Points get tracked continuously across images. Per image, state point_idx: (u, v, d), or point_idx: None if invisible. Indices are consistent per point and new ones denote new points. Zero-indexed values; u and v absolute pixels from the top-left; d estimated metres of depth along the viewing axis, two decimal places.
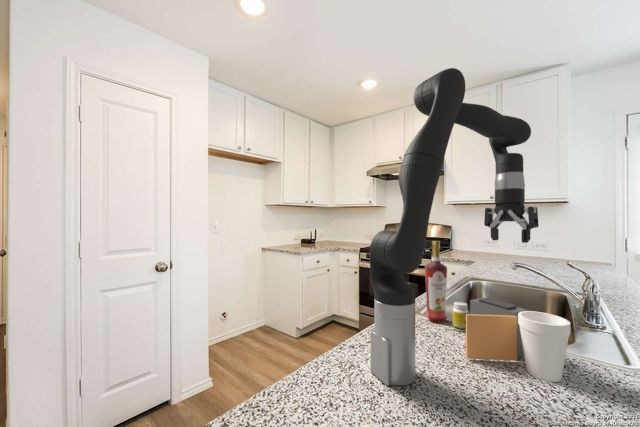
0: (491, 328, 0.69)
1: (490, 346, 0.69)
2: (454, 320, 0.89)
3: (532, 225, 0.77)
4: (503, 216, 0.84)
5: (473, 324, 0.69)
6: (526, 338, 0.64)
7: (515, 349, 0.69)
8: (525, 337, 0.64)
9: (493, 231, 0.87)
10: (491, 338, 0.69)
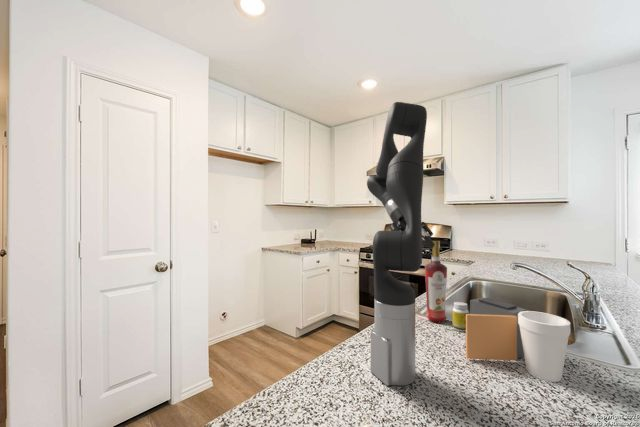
0: (491, 328, 0.69)
1: (490, 346, 0.69)
2: (454, 320, 0.89)
3: (432, 233, 0.93)
4: None
5: (473, 324, 0.69)
6: (526, 338, 0.64)
7: (515, 349, 0.69)
8: (525, 337, 0.64)
9: None
10: (491, 338, 0.69)
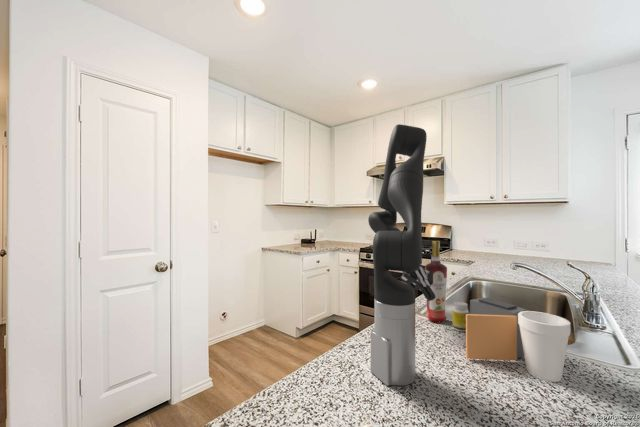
0: (491, 328, 0.69)
1: (490, 346, 0.69)
2: (454, 320, 0.89)
3: (432, 281, 0.87)
4: None
5: (473, 324, 0.69)
6: (526, 338, 0.64)
7: (515, 349, 0.69)
8: (525, 337, 0.64)
9: (428, 289, 0.84)
10: (491, 338, 0.69)
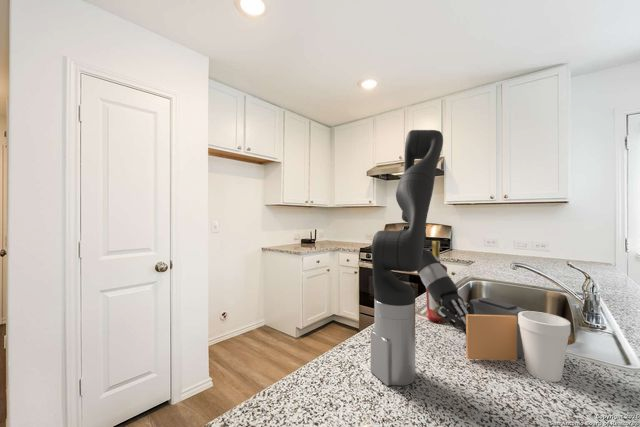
0: (491, 328, 0.69)
1: (490, 346, 0.69)
2: None
3: None
4: None
5: (474, 324, 0.69)
6: (526, 338, 0.64)
7: (515, 349, 0.69)
8: (525, 337, 0.64)
9: None
10: (491, 338, 0.69)
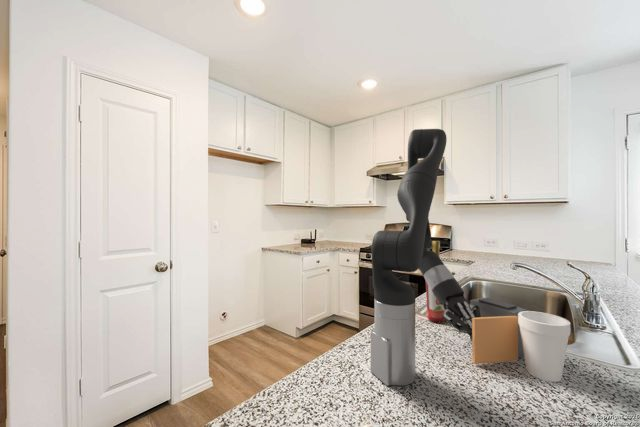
0: (496, 330, 0.68)
1: (495, 349, 0.68)
2: None
3: None
4: None
5: (480, 327, 0.67)
6: (526, 338, 0.64)
7: (516, 349, 0.69)
8: (525, 337, 0.64)
9: None
10: (496, 340, 0.68)
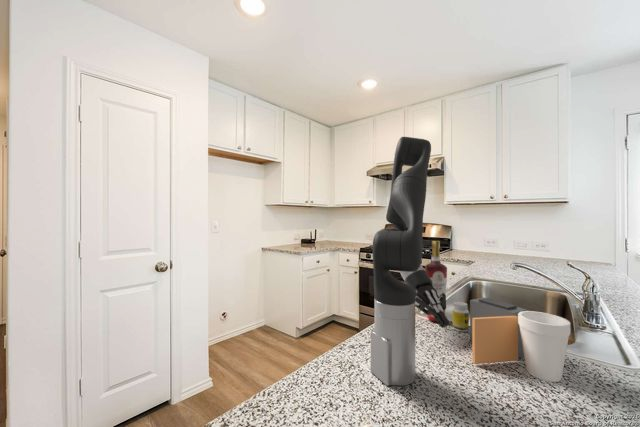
0: (496, 330, 0.68)
1: (495, 349, 0.68)
2: (454, 320, 0.89)
3: (445, 306, 0.83)
4: None
5: (480, 327, 0.67)
6: (526, 338, 0.64)
7: (516, 349, 0.69)
8: (525, 337, 0.64)
9: (441, 315, 0.80)
10: (496, 340, 0.68)
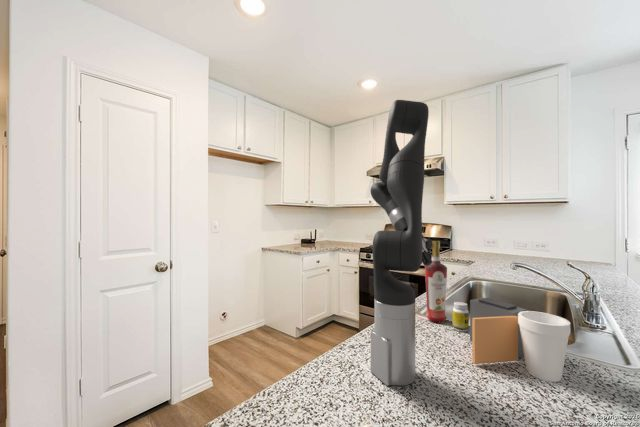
0: (496, 330, 0.68)
1: (495, 349, 0.68)
2: (454, 320, 0.89)
3: (429, 248, 0.88)
4: None
5: (480, 327, 0.67)
6: (526, 338, 0.64)
7: (516, 349, 0.69)
8: (525, 337, 0.64)
9: (425, 254, 0.85)
10: (496, 340, 0.68)
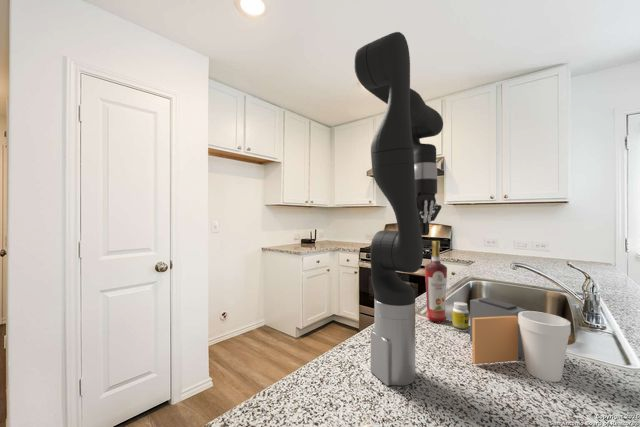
0: (496, 330, 0.68)
1: (495, 349, 0.68)
2: (454, 320, 0.89)
3: (434, 218, 0.84)
4: None
5: (480, 327, 0.67)
6: (526, 338, 0.64)
7: (516, 349, 0.69)
8: (525, 337, 0.64)
9: (426, 226, 0.83)
10: (496, 340, 0.68)
